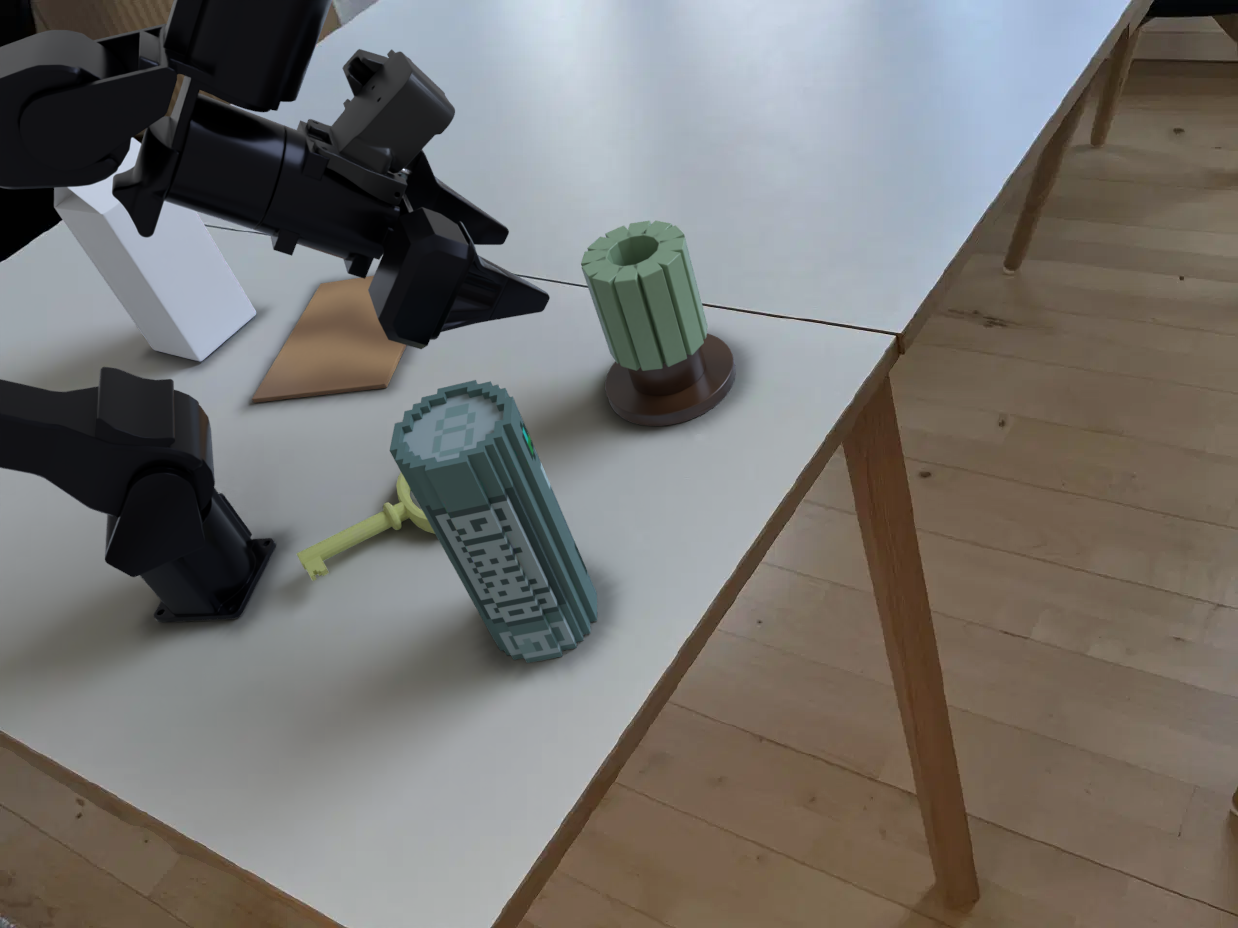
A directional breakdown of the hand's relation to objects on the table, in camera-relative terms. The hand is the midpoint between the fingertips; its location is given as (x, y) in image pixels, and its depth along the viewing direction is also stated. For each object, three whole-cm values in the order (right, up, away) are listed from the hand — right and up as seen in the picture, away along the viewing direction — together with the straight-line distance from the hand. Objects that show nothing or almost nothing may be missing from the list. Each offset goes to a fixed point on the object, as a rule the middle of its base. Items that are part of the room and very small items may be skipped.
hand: (525, 268), depth 65 cm
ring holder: (+9, -6, +9) cm, 14 cm away
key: (-9, -16, +5) cm, 19 cm away
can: (+2, -21, -4) cm, 21 cm away
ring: (+8, -4, +6) cm, 11 cm away
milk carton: (-31, 0, +32) cm, 45 cm away
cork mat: (-17, -1, +25) cm, 30 cm away
